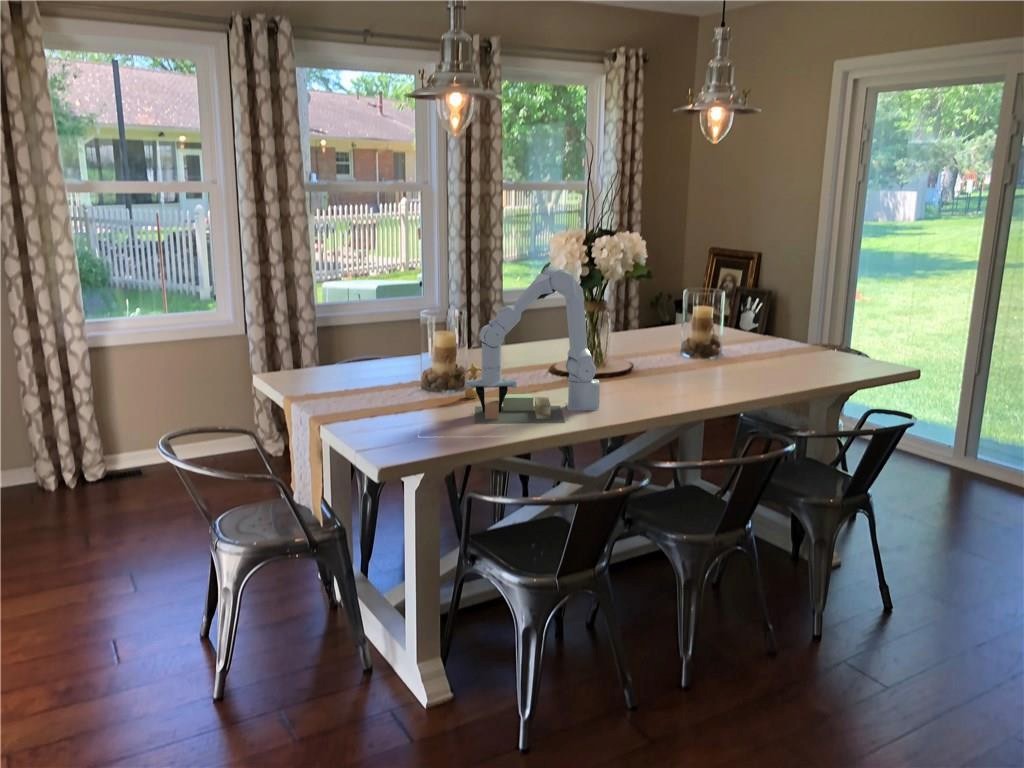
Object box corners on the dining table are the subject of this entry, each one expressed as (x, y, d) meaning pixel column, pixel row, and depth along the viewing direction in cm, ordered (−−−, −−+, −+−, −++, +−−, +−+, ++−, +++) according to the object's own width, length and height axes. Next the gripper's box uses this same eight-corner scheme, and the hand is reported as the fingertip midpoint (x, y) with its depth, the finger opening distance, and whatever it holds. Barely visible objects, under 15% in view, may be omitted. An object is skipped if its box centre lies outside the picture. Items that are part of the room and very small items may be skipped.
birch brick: (548, 409, 251) (548, 397, 250) (550, 418, 242) (550, 405, 241) (534, 409, 251) (534, 397, 250) (536, 418, 242) (536, 405, 241)
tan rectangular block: (498, 410, 251) (498, 397, 250) (498, 418, 242) (498, 405, 241) (485, 410, 250) (484, 397, 249) (485, 419, 242) (484, 405, 241)
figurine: (480, 396, 268) (480, 359, 265) (488, 400, 263) (488, 363, 260) (456, 399, 264) (455, 362, 261) (464, 403, 259) (463, 366, 256)
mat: (560, 406, 256) (560, 405, 256) (565, 424, 238) (565, 422, 238) (475, 407, 255) (475, 406, 255) (474, 424, 237) (474, 423, 237)
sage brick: (532, 406, 254) (532, 394, 253) (533, 410, 250) (533, 397, 249) (503, 407, 254) (503, 394, 253) (503, 410, 250) (503, 397, 249)
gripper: (466, 369, 238) (466, 415, 242) (516, 369, 239) (516, 414, 242) (466, 364, 245) (467, 408, 249) (516, 363, 246) (515, 408, 249)
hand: (491, 411), depth 246 cm, fingers closed on tan rectangular block, 4 cm apart
